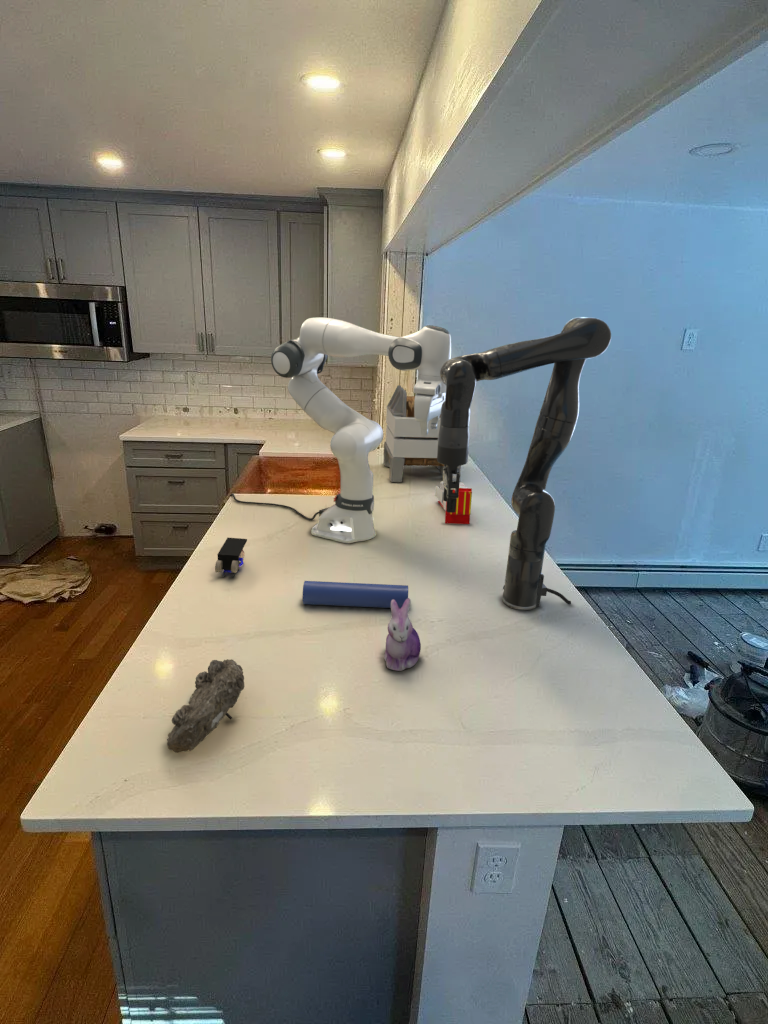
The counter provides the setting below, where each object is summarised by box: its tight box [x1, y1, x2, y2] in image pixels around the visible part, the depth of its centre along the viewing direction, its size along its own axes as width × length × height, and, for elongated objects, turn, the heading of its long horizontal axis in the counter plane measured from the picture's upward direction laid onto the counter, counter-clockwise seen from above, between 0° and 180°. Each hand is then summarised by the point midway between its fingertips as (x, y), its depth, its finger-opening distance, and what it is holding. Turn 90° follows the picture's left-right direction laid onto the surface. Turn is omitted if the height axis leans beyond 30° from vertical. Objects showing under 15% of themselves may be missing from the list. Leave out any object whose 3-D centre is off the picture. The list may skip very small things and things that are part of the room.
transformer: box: [383, 384, 462, 483], centre depth 268 cm, size 34×33×41 cm
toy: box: [434, 481, 473, 525], centre depth 222 cm, size 12×13×30 cm
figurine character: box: [214, 537, 248, 578], centre depth 166 cm, size 7×8×15 cm
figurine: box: [383, 597, 422, 672], centre depth 125 cm, size 9×10×15 cm
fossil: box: [166, 658, 245, 754], centre depth 106 cm, size 22×10×15 cm
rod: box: [301, 580, 409, 609], centre depth 150 cm, size 27×6×6 cm, turn 89°
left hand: (429, 432), depth 169 cm, fingers open, 8 cm apart
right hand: (449, 506), depth 143 cm, fingers open, 8 cm apart
